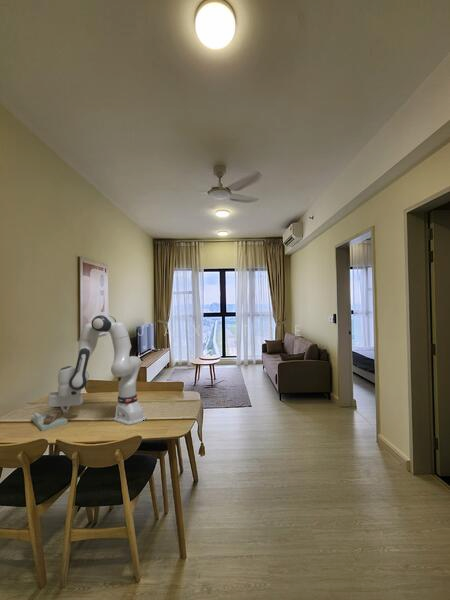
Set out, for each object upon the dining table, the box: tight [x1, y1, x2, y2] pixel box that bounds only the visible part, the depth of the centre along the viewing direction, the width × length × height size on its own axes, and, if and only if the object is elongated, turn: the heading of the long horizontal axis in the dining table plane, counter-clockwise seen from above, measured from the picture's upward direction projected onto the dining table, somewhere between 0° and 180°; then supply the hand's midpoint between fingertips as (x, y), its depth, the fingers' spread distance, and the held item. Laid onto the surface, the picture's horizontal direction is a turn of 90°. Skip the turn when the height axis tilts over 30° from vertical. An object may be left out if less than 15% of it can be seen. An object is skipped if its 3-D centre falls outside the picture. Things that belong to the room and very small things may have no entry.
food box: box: [31, 409, 69, 432], centre depth 184 cm, size 24×14×6 cm, turn 46°
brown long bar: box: [44, 408, 65, 424], centre depth 183 cm, size 18×4×4 cm, turn 1°
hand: (65, 412), depth 188 cm, fingers closed
